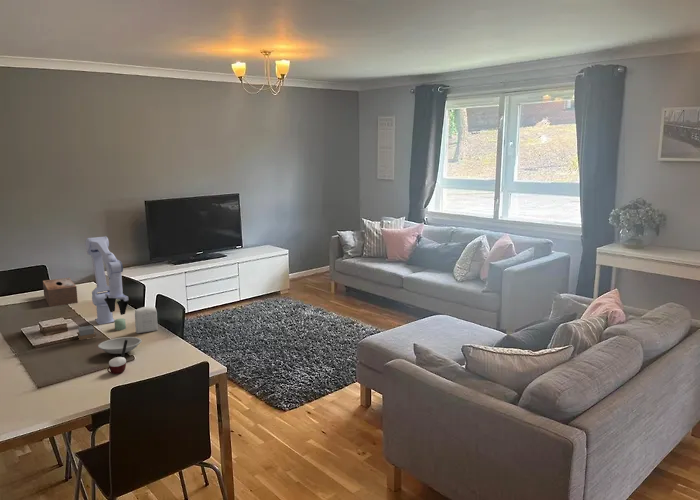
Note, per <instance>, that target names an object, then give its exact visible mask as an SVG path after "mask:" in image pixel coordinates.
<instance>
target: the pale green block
mask: <svg viewBox="0 0 700 500" xmlns="http://www.w3.org/2000/svg"><path fill="white" fill-rule="evenodd" d="M113 323H114V330H115V331H124V330H126V328H127V325H126V319H125V318H116V319H114V322H113Z"/></svg>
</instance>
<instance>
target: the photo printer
mask: <svg viewBox="0 0 700 500" xmlns="http://www.w3.org/2000/svg"><path fill="white" fill-rule="evenodd" d="M134 321H135V322H134V325H135V333H136V334H142V333H148V332H149V333H150V332H155V331H158V312H157V308H156V307H155V306H143V307H142V306H141V307H139V308H137V309H135V310H134Z"/></svg>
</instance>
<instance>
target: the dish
mask: <svg viewBox="0 0 700 500" xmlns="http://www.w3.org/2000/svg"><path fill="white" fill-rule="evenodd" d="M125 340H128V342H127V346H126V351H125V353H128V352H131V351H133V350H134V349H135V348H137V347H138V345H140V344H141V343H142V341H143V340H142V338H139V337H136V336H125V337H124V336H123V337H117V338H111V339H108V340H104V341H102V342H100V343H98V345H97V348H98V349H101V350H102V351H103V352H105V353H107V354H110V355H111V354H112V355H118V354H119V355H122V350H123V346H124V342H125Z"/></svg>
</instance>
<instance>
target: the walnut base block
mask: <svg viewBox="0 0 700 500" xmlns="http://www.w3.org/2000/svg"><path fill="white" fill-rule="evenodd" d="M77 334H78V337H77V339H78V338H79V339H78V340H81V341H84V340H83V339H87V338H92V339H94V338H93V337H96V338H97V336H96V335H97V334H96V332H95V331H94V334H90V335H84V336H80V334H79V331H78V332H76V335H77ZM87 340H88V339H87Z"/></svg>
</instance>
